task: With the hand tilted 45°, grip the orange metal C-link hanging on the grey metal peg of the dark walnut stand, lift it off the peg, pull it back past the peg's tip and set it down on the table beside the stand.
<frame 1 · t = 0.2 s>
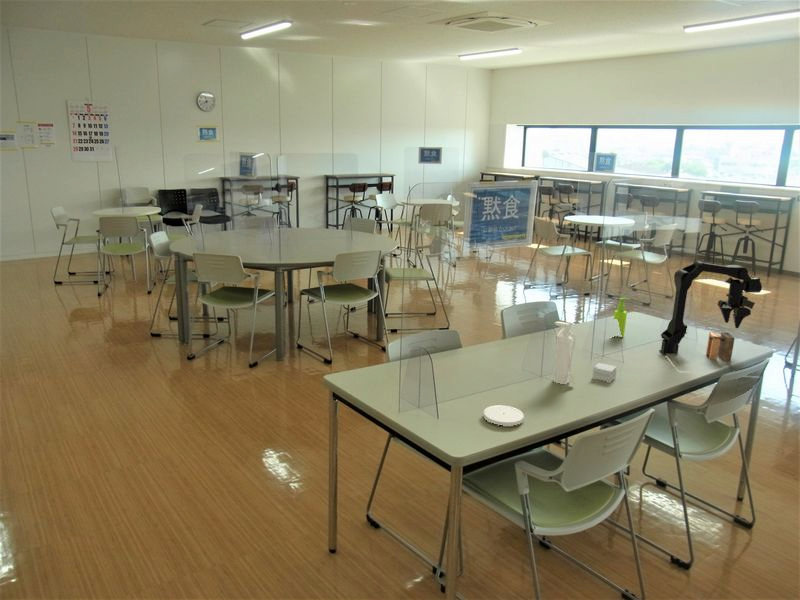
hand: (731, 325, 290), 15 cm above the table, tool pointing down, fingers open, 9 cm apart
small box: (603, 378, 262), on the table
C-link: (711, 357, 287), point 1 cm above the table, touching walnut stand
spray bottle: (562, 382, 256), on the table
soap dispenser: (618, 336, 318), on the table
walnut stand: (723, 360, 287), on the table
plastic lid: (503, 420, 221), on the table
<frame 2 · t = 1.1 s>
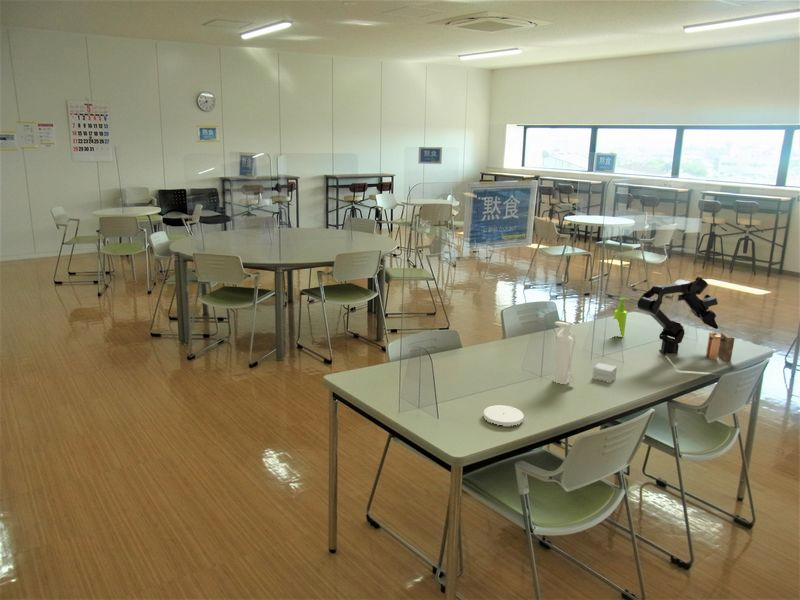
hand: (714, 325, 293), 13 cm above the table, tool tilted 45°, fingers open, 9 cm apart
nothing on the table moved.
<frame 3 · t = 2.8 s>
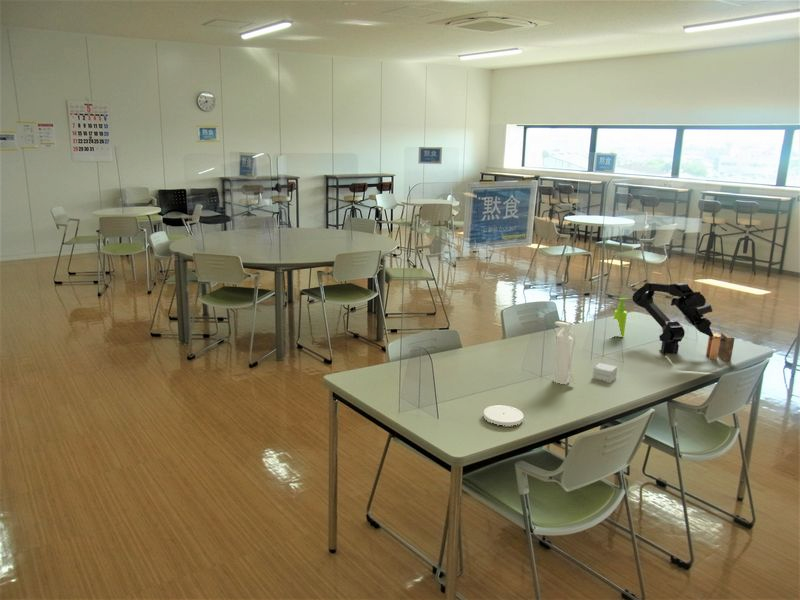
hand: (709, 333, 285), 12 cm above the table, tool tilted 45°, fingers open, 9 cm apart
nothing on the table moved.
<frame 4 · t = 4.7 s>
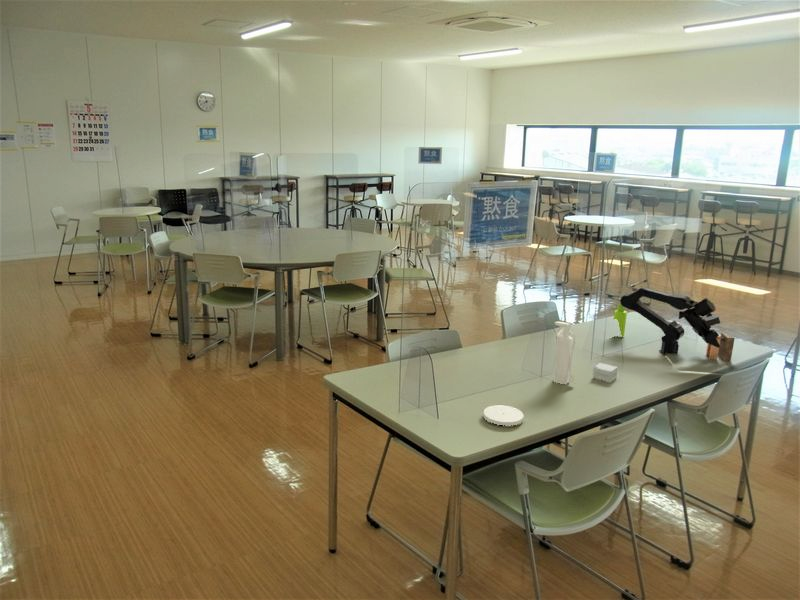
hand: (716, 344, 285), 7 cm above the table, tool tilted 45°, fingers closed on C-link, 6 cm apart
C-link: (711, 357, 287), point 1 cm above the table, touching gripper, walnut stand
everything else where it was.
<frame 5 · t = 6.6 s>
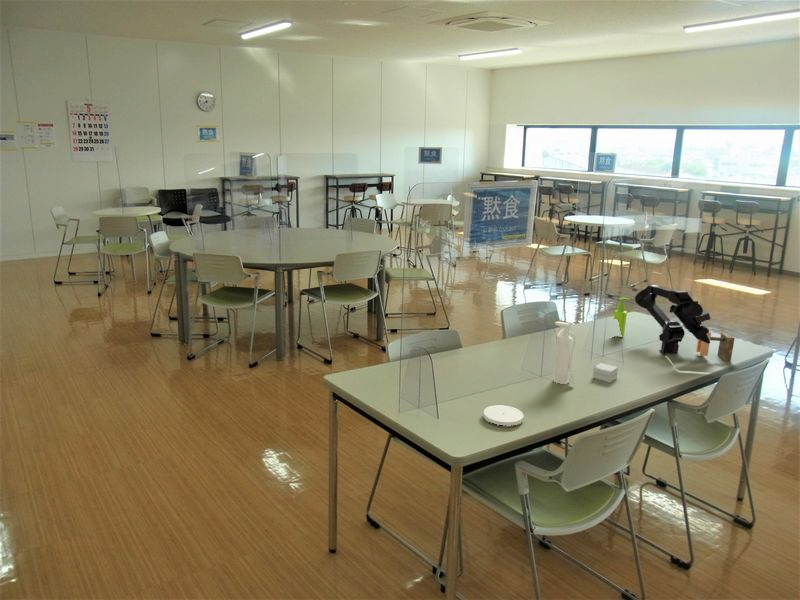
hand: (707, 341, 286), 9 cm above the table, tool tilted 45°, fingers closed on C-link, 6 cm apart
C-link: (701, 353, 288), point 2 cm above the table, touching gripper
everything else where it was.
when the fingers open (7 cm above the table, at t = 8.5 s): C-link stays where it is, on the table.
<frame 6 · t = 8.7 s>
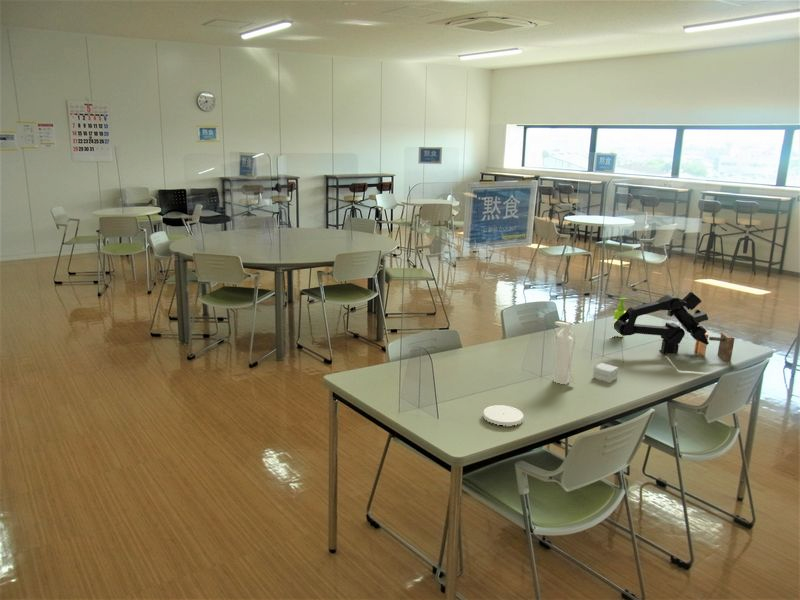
hand: (704, 341, 290), 7 cm above the table, tool tilted 45°, fingers open, 8 cm apart
C-link: (699, 355, 292), on the table
everything else where it was.
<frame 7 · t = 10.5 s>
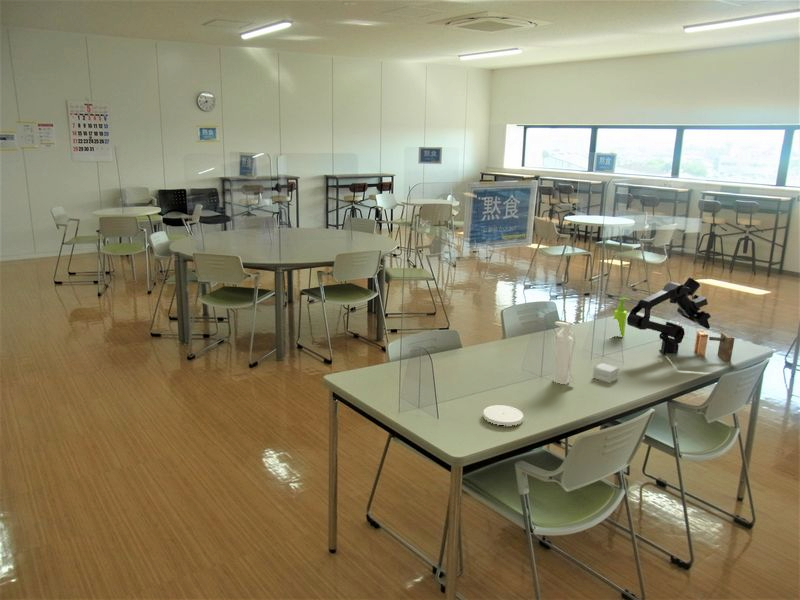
hand: (703, 325, 293), 13 cm above the table, tool tilted 45°, fingers open, 9 cm apart
nothing on the table moved.
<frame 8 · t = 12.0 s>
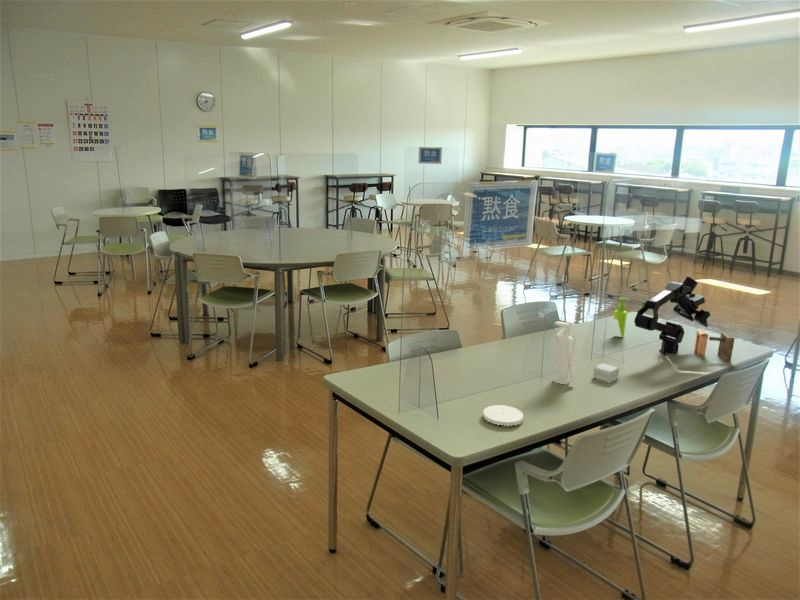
hand: (699, 323, 295), 14 cm above the table, tool tilted 45°, fingers open, 9 cm apart
nothing on the table moved.
at the end: C-link inside the target area (0.5 cm from its centre), on the table; C-link touching table; the gripper is holding nothing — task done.
